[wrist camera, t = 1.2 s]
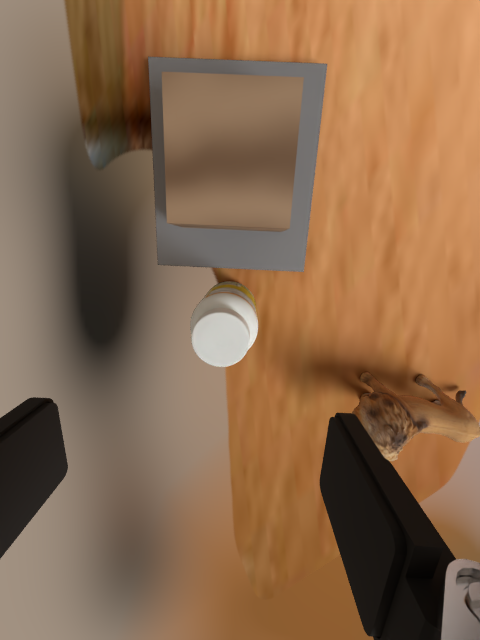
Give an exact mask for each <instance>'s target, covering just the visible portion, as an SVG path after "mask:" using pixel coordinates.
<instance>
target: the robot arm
mask: <svg viewBox="0 0 480 640" xmlns="http://www.w3.org/2000/svg"><path fill="white" fill-rule="evenodd" d="M67 469H68V465H67V459H66V453H65V447H64V441H63V435H62V430H61V424H60V418H59V412H58V407H57V405H56V404H55V403H54V402H53V400H52V399H50V398H29V399H27V400H26V401H24V402H23V403H22V404H20V405H19V406H17V407H16V408H14V409H13V410H11V411H10V412H8V413H7V414H6V415H4V416H3V417H1V418H0V558H1V557H2V556H3V555H4V553H5V552H6V551H7V550H8V548H9V547H10V546H11V544H12V543H13V542H14V541H15V539H16V538H17V537H18V536H19V534H20V533H21V532H22V531H23V529H24V528H25V527H26V525H27V524H28V523H29V522H30V520H31V519H32V518H33V517H34V515H35V514H36V513H37V512H38V510H39V509H40V508H41V506H42V505H43V504H44V503H45V501H46V500H47V499H48V498H49V496H50V495H51V494H52V493H53V491H54V490H55V489H56V487H57V486H58V485H59V484H60V482H61V481H62V480H63V478H64V477H65V475H66V473H67ZM320 489H321V493H322V497H323V500H324V503H325V506H326V509H327V513H328V516H329V519H330V522H331V525H332V529H333V532H334V535H335V538H336V541H337V545H338V548H339V551H340V554H341V557H342V561H343V564H344V567H345V570H346V574H347V577H348V580H349V583H350V586H351V590H352V593H353V596H354V599H355V602H356V606H357V609H358V612H359V615H360V618H361V621H362V625H363V627H364V630H365V632H366V633H367V635H368V636H373V638H374V640H480V563H478V562H474V561H471V560H467V559H456V558H455V557H454V555H453V554H452V553H451V551H450V549H449V548H448V546H447V545H446V544H445V542H444V541H443V539H442V538H441V536H440V535H439V533H438V532H437V530H436V529H435V527H434V526H433V524H432V523H431V521H430V520H429V518H428V517H427V516H426V514H425V513H424V511H423V510H422V508H421V507H420V505H419V504H418V502H417V501H416V499H415V498H414V496H413V495H412V493H411V492H410V490H409V489H408V488H407V486H406V485H405V483H404V482H403V480H402V479H401V477H400V476H399V474H398V473H397V471H396V470H395V468H394V467H393V465H392V464H391V463H390V462H389V461H388V460H387V459H385V458H384V457H383V455H382V454H381V452H380V451H379V449H378V447H377V446H376V444H375V443H374V441H373V440H372V438H371V437H370V435H369V434H368V432H367V431H366V429H365V428H364V426H363V425H362V423H361V422H360V420H359V419H358V417H357V416H356V415H355V414H351V413H336V415H335V417H331V418H330V420H329V426H328V432H327V439H326V445H325V451H324V457H323V463H322V469H321V475H320Z"/></svg>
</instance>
